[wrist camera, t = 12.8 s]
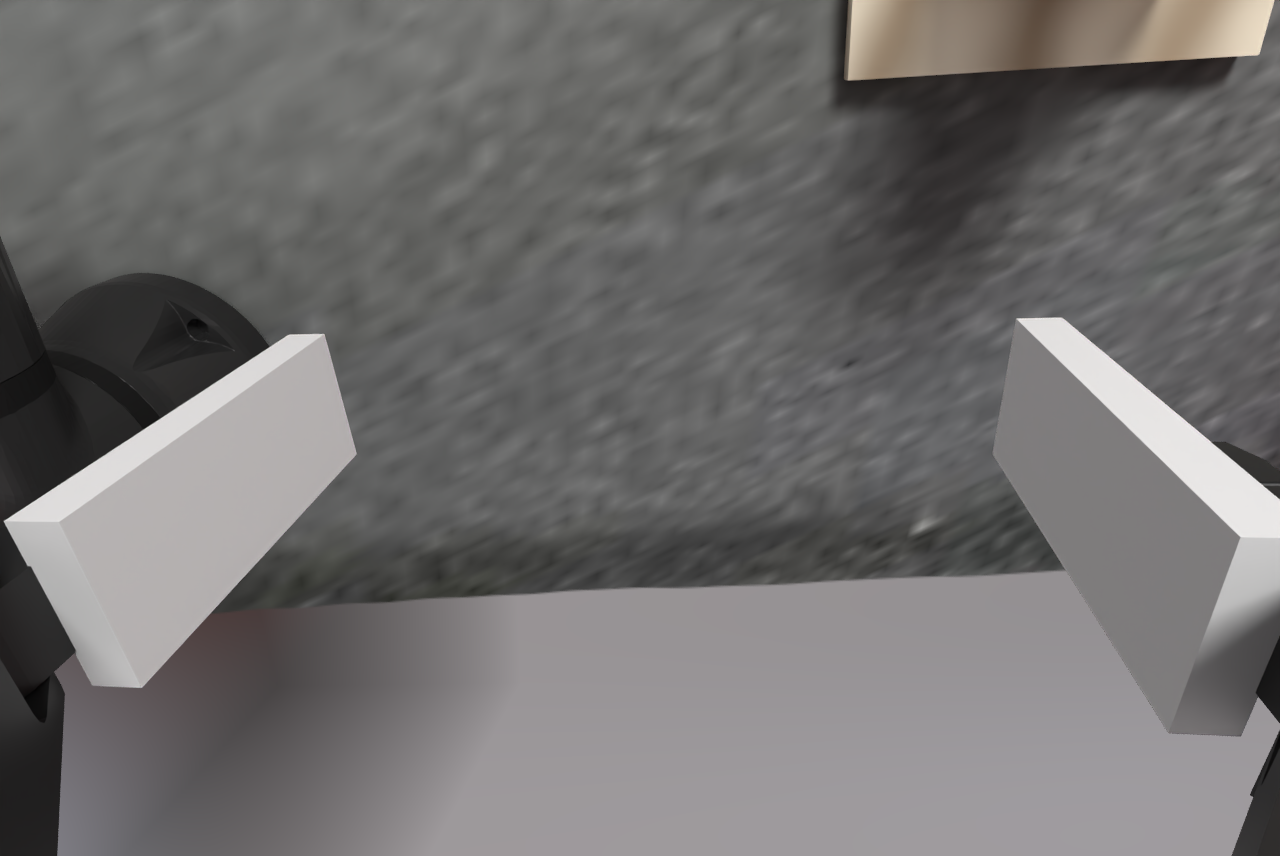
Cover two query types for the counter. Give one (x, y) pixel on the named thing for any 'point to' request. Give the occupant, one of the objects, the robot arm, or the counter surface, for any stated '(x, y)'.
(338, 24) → the counter surface
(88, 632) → the robot arm
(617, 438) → the counter surface
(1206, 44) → the tan piece
